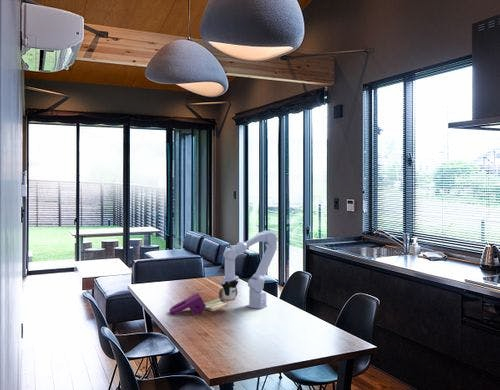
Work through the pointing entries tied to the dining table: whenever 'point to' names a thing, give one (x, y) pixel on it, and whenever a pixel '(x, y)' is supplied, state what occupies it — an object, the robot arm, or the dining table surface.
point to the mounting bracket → (189, 305)
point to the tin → (221, 295)
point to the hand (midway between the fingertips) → (229, 294)
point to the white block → (231, 293)
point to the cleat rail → (214, 305)
